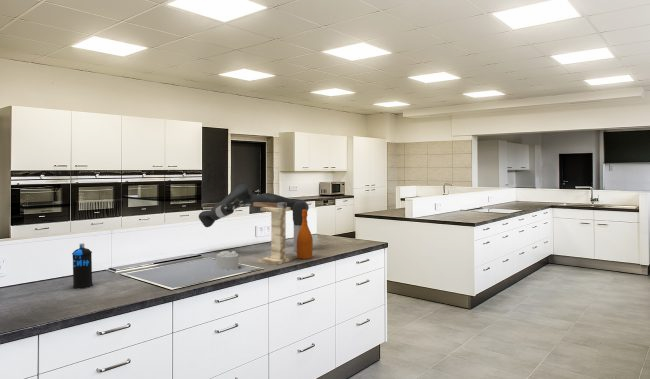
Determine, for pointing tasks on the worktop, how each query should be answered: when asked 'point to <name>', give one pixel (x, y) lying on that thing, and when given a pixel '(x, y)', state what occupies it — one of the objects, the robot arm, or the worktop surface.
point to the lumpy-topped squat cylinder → (227, 260)
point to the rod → (270, 204)
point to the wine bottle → (304, 239)
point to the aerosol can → (82, 267)
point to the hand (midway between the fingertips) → (243, 201)
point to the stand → (277, 236)
